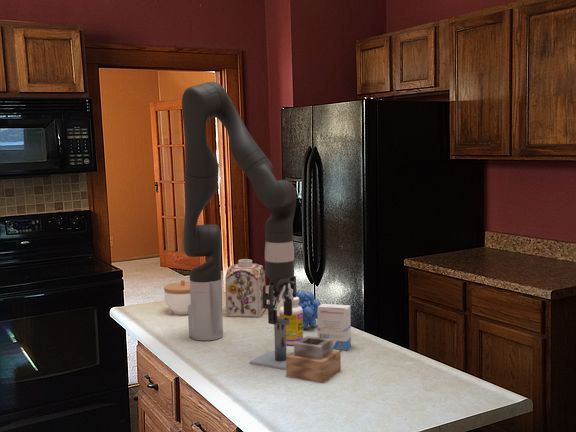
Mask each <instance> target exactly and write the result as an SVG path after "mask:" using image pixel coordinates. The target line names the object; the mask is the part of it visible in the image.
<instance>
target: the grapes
mask: <svg viewBox="0 0 576 432" xmlns="http://www.w3.org/2000/svg"><path fill="white" fill-rule="evenodd" d="M296 297H299V303H298V305H299V306H300V307H301V308H302V309H303V330H304V329H305V330H306V329H307V328H308V326H310V327H311V328H312V327H313V328H314V327H315V326H316V325H317V320H318V319H317V312H318V306H320V305H321V302H320V300H318V299H316V298H315V295H314V294H313V293H312V291H311V292H310V291H307V292H306V293H305V291H304V290H298V291H297V296H296Z"/></svg>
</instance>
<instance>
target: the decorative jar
mask: <svg viewBox="0 0 576 432" xmlns="http://www.w3.org/2000/svg"><path fill="white" fill-rule="evenodd" d="M237 261H238V262H237V263H235V264H231V265H230V266H228V267H227V270H226V273H225V279H224V280H225V314H226V315H225V316H226V317H228V318H261V316H262V315H263V314H264V312H265V311H266V309H264V308H263V286H264V285H266V275H265V267H263V265H261V264H258V263H253V260H252V259H248V258H243V259H242V258H241V259H239V260H237Z"/></svg>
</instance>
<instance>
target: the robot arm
mask: <svg viewBox="0 0 576 432" xmlns="http://www.w3.org/2000/svg"><path fill="white" fill-rule="evenodd" d="M181 113H182V121H183V122H182V123H183V135H184V199H185V200H184V202H185V206H184V207H185V208H184V221H183V222H184V223H183V238H182V239H183V240H182V243H183V245H182V246H183V250H184V255H186V256H187V257H190V258H197V257H199V258H201V257H209V258H208V259H207V260H206V261H205V262H204V263H202V264H200V265H198V266H196V267H194V268H192V269H191V270H190V271H189V282H190V299H191V304H190V305H188V314H187V319H188V320H187V322H188V337H189V338H192V339H193V340H195V341H202V342H203V341H204V342H205V341H214V340H218V339H221V338H223V336H224V324H223V323H224V320H223V319H224V318H223V315H224V314H223V291H222V290H223V289H222V288H223V287H222V286H223V285H222V284H223V283H222V231H221V229H220V226H219V224H218V225H217V224H214V223H213V224H211V223H210V224H197V223H198V220H199V217H200V215H201V213H202V212H203V210H204V209H205V207H207V205H208V204H209V202H210V201H211V200H212V198H213V197H214V196H215V194H216V192H217V190H218V187H219V170H220V168H219V167H220V166H219V162H218V159H217V157H216V155H215V153H214V151H212V149H211V147H210V145H209V143H208V141H207V121H208V120H210V119H214V118H216V119H217V120H218V121H220V123H221V124H222V125H223V126H224V128H225V129H226V132H227V135H228V140H229V147H230V150H231V155H232V157H233V159H234V160H235V162H236V164H237V165H238V166H239V168H240V169H241V170H242V172H243V173H244V175H245V176H246V177H247V178H248V179H249V180H250V183H251V186H252V188H253V190H254V192H255V194H256V197H257V198H258V200H259V201H260V202H261V203H262V205H264V206H265V207H266V208H268V209H270V216H269V218H268V219H267V220H266V222H265V227H264V228H265V229H264V230H265V237H264V238H265V245H264V270H265V278H268V279H269V285H268V284H265V285H264V286H263V308H264V309H265V310H267V317H268V319H267V322H268V324H269V325H274V324H277V316H278V310H277V309H278V305H279V303H281V301H282V300H283V299H284V300H285V301H284V315H286V316H291V315H292V301H293V300H294V297H295V298H296V296H297V292H298V291H297V276H296V275H295V248H294V241H293V240H294V229H293V228H294V227H293V223H294V217H295V213H296V207H297V190H296V188H295V186H294V185H293V183H292V182H291V181H290V180H287V179H281V180H277V178H276V177H275V175H274V173H273V172H272V171H273V164H272V162H271V161H270V159H269V157H267V155H266V154H265V152H264V151H263V150H262V149H261V148H260V146H259V145H258V144H257V142H256V141H255V139H254V138H253V137H252V135H251V133H250V132H249V131H248V128H247V126H246V125H245V123H244V121H243V120H242V118H241V117H242V116H240V114H239V112H238V111H237V109H236V107H235V105H234V103H233V101H232V99H231V97H230V96H229V94H228V93H227V91H226V90H225V88H224V87H223V86H222V85H221V84H220V83H218V82H216V81H207V82H203V83H199V84H194V85H192V86H189V87H188V88H186V89H185V90H184V92H183V94H182V98H181Z"/></svg>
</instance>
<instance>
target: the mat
mask: <svg viewBox="0 0 576 432" xmlns="http://www.w3.org/2000/svg"><path fill="white" fill-rule="evenodd" d="M289 354H290V353H288V352H286V356H288V355H289ZM249 364H250V365H254V366H260V367H267V368H272V369H273V368H274V369H279V370H285V371H286V361H276V360H275V350H267V351H266V352H264V353H261V354H260V355H259V356H256V357H255V358H254V359H251V360H250V361H249Z"/></svg>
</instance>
